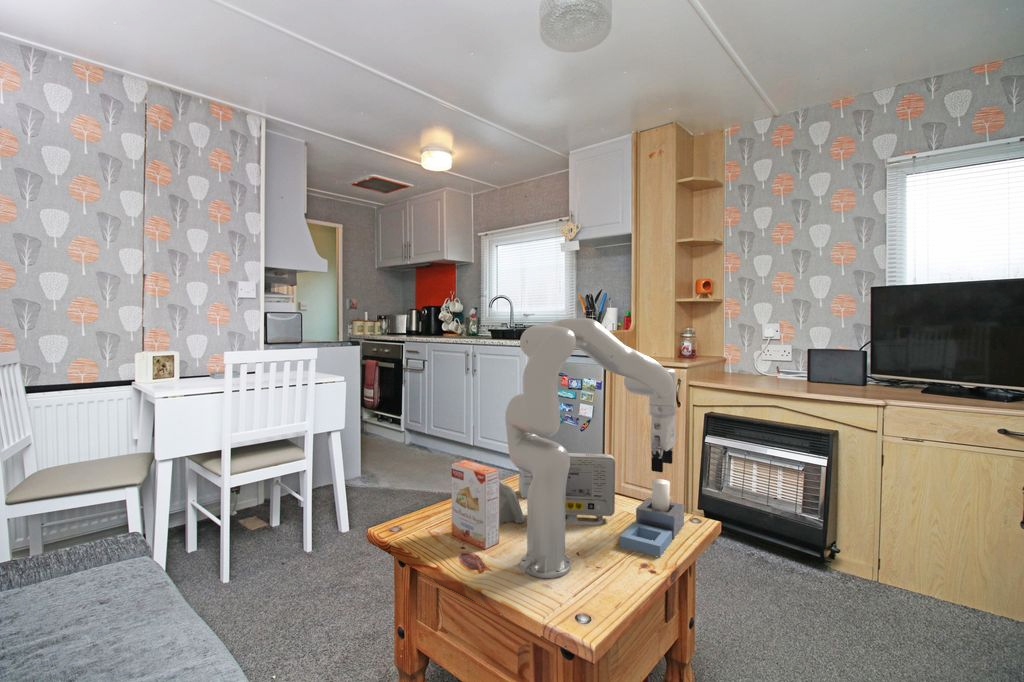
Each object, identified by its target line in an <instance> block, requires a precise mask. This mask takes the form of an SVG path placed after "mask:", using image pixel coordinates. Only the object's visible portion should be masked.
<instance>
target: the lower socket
mask: <svg viewBox="0 0 1024 682" xmlns="http://www.w3.org/2000/svg"><path fill="white" fill-rule="evenodd" d="M652 540H653V541H652ZM672 542H673V539H672V531H668V530H664V529H659V528H655V527H651V526H646V525H642V524H638V523H636V522H632V524H630V525H629V526H628V527H627V528H626V530H624V532H622V533H621V534H620V535H619V547H620V548H622V549H626V550H629V549H630V550H629V551H634V552H638V553H642V554H644V553H645V555H648V556H651V557H656V556H657V557H656V558H659V557H660V558H661V557H662V556H661V555H663V554H664V553H665V552H664V551H666V550H667V549H668V548H669V546H670V545H671V544H672ZM670 543H671V544H670ZM669 544H670V545H669ZM667 547H668V548H667Z"/></svg>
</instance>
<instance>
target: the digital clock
mask: <svg viewBox="0 0 1024 682" xmlns="http://www.w3.org/2000/svg"><path fill="white" fill-rule="evenodd" d="M510 521H512V522H515V523H517V524H523V523H524V521H525V516H524V514H523V511H522V508H521V504H520V502H519V499H518V497H517V493H516V491H515V490H514V489H513V488H512V487H510V486H509V485H508V484H506V483H505V482H504V481H502V479H500V478H499V524H504V522H506V523H511V522H510Z"/></svg>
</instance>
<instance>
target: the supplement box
mask: <svg viewBox="0 0 1024 682" xmlns="http://www.w3.org/2000/svg"><path fill="white" fill-rule="evenodd" d="M530 485H531V474H530V473H528V472H525V471H523V470H521V469H519V468H518V492H519V494H520V496H521V498H522V499H527V495H528V490H529V487H530Z"/></svg>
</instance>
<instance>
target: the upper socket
mask: <svg viewBox="0 0 1024 682" xmlns="http://www.w3.org/2000/svg"><path fill="white" fill-rule="evenodd" d="M635 509H636V510H635V523H638V524H642V525H646V526H651V527H655V528H659V529H664V530H668V531H672V538H673V539H672V540H675V539H676V537H677V536H678V535H679V533H680V532H681V531H682V529H683V528H684V527H685V504H682V503H677V502H672V501H669V512H664V511H659V510H654V509H652V497H647V498H646V499H645V500H643V502H642V503H641V504H639V505H638V506H637V507H636V508H635ZM683 526H684V527H683ZM682 527H683V528H682ZM681 528H682V529H681ZM680 530H681V531H680ZM679 531H680V532H679ZM678 532H679V533H678ZM677 534H678V535H677ZM676 535H677V536H676ZM675 536H676V537H675ZM674 538H675V539H674Z"/></svg>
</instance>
